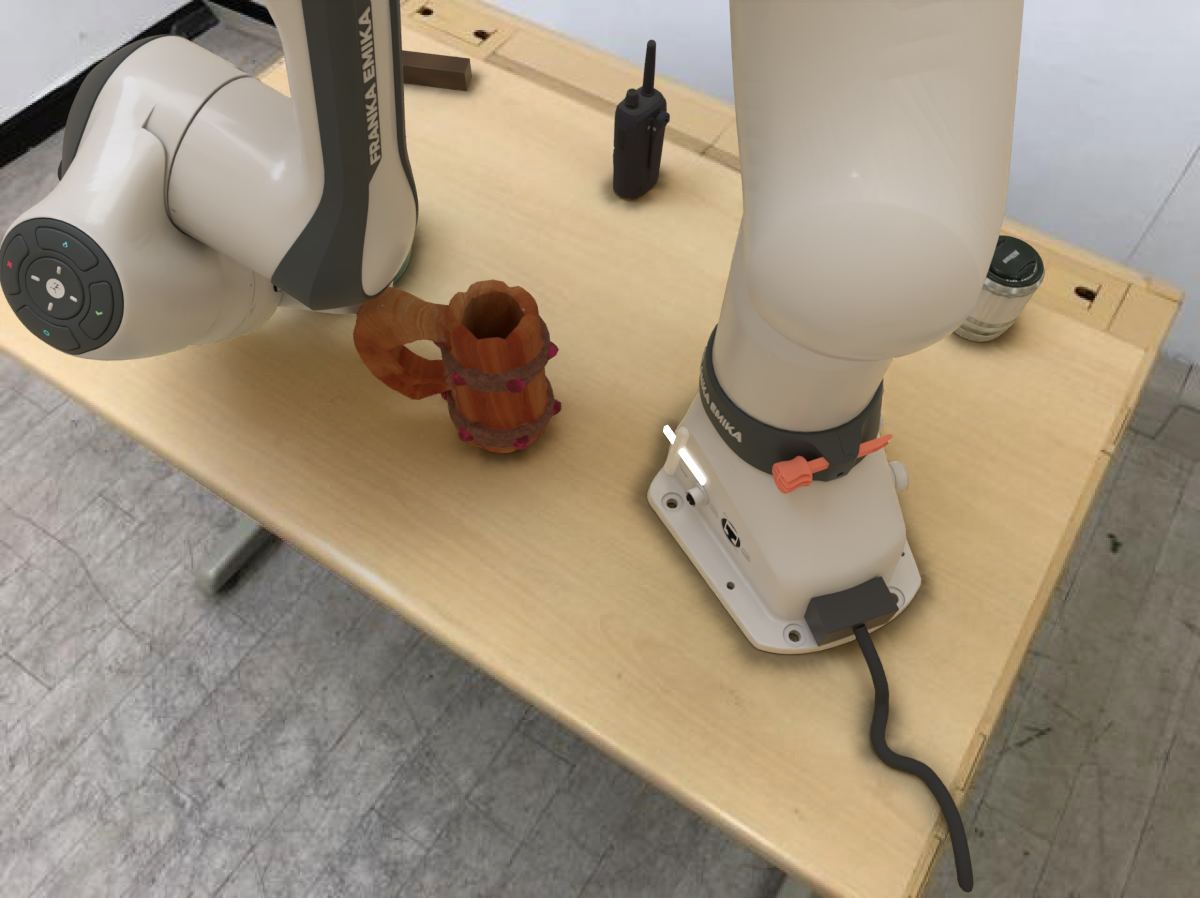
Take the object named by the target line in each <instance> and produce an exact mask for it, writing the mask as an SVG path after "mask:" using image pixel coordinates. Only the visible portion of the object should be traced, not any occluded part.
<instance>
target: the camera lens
mask: <svg viewBox="0 0 1200 898" xmlns="http://www.w3.org/2000/svg"><path fill="white" fill-rule="evenodd" d="M1045 275H1046V269H1045V265H1044V261H1043V258H1042V256H1041V254H1040V253H1038V251H1037V250H1036V248H1034V247H1033V246H1032V245H1031V244H1029V243H1028V242H1026V241H1024V240H1022V239H1021V238H1018V237H1016V236H1011V235H1005V234H1004V235H1003V234H1000V235H999V238H998V241H997V245H996V248H995V251H994V255H993V258H992V261H991V264H990V267H989V270H988V273H987V276H986V279H985V282H984V284H983V287H982V290H981V292H980V295H979V297H978V300H977V302H976V305H975V307H974V309H973V310H972V312H971V313H970V315H969V316H968V318H967V319H966V320H965V321H964V322H963V323H962V324H961V325H960V326H959V327H958V328H957V329H956V330H955V331H954V332H953V333H955V334H956V335H957V336H959V337H961V338H963V339H965V340H967V341H972V342H977V343H982V342H983V343H984V342H988V341H989V342H990V341H992V340H995V339H998V338H999V337H1000V336H1001V335H1002V334H1004V333H1006V331H1008V330H1009V328H1010V327H1012V326H1013V325H1014V324H1015V322H1016V321H1017V319H1018V318H1019V317H1020V315H1021V313H1022V312H1023V310H1024V309H1025V307H1026V306H1027V305H1028V303H1029V302H1030V300H1031V299H1032V298H1033V296H1034V295H1035V293H1036V291H1037V290H1038V289H1039V287H1040V286H1041V285H1042V283H1043V282H1044V279H1045Z"/></svg>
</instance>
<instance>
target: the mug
mask: <svg viewBox="0 0 1200 898" xmlns="http://www.w3.org/2000/svg"><path fill="white" fill-rule="evenodd" d="M352 339H353V344H354V348H355V350H356V351H357V353H358V356H359V358H360V359H361V362H362V363H363V364H364V366H365V368H367V369H368V370H369V372H370V373H371V374H372V376H374V377H375V378H376V379H378V380H379V381H380V382H381V383H383V384H384V385H386V386H387V388H390V389H391V390H393V391H395V392H397V393H399V394H401V395H402V396H404V397H407V398H408V399H410V400H413V401H421V400H423V399H425V398H429V397H432V396H436V395H439V394H440V396H441V398H442V399H443V401H445V402H446V403H447V409H448V414H449V417H450V419H451V421H452V423H453V424H454V427H455V428H456V430H457V432H458V433H457V435H458V438H459V439H460V441H463V442H468V443H469V444H470V445H472V446H474V447H477V448H480V449H482V450H485V451H487V452H488V453H489V452H490V453H496V454H510V453H513V452H516V451H518V450H521V451H523V450H525V449H527V448H528V447H529V446H530V445H531V444H533V443H534V442H535V441H537V440H538V439H540V437H541V436H542V435H543V434H544V432H545V431H546V430H547V426H548V423H549V422H550V420H551V419H552V417H553V416H556V415H558V414H559V413H560V412H561V411H562V407H563V406H562V405H563V404H562V402H560V401H559V400H558V399H556V398H555V395H554V390H553V386H552V384H551V381H550V380H549V378H548V376H547V375H546V366H547V365H548V363H549V361H550V360H551V359H553V358H554V357H556V356H557V354H558V352H559V351H560V348H559V347H558V345H557V344H555V343H554V342H553V341H551V335H550V331H549V329H548V326H547V324H546V322H545V321H544V319H543V318H542V317H541V315H540V310H539V306H538V303H537V301H536V299H535V297H534V296H533V295H532V294H531V293H530V292H529V291H527V289H525V288H524V287H522V286H520V285H516V286H509V285H508V284H507V283H506V282H505V281H502V280H498V279H494V278H492V279H487V280H479V281H475V282H473V283H472V284H470V285H469V286H468V289H467V290H466V291H458V292H456V293H455V294H454V295H453V296H452V297H451V298H450V300H449V302H448V304H443V303H435V302H431V301H427V300H424V299H422V298H420V297H418V296H416V295H414V294H411V293H410V292H408V291H406V290H404V289H401V288H398V287H396V286H393V287H388V288H387V289H386V290H385V291H384V292H383V293H382V294H380V295H379V296H378V297H376V298H374V299H371V300H369V301H366V302H363V304H362V305H361V307H360V308H359V312H358V313H357V314H356V319H355V324H354V327H353V330H352ZM418 341H428V342H429V341H431V342H433V344H434V345H435V346H436V347H437V348H438V349H440V355H441V359H428V358H426V357H423V356H421V355H419V354H416V353H415V352H413V351H412V350H411V349H409V347H407V346H406V344H412V343H415V342H418Z"/></svg>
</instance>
